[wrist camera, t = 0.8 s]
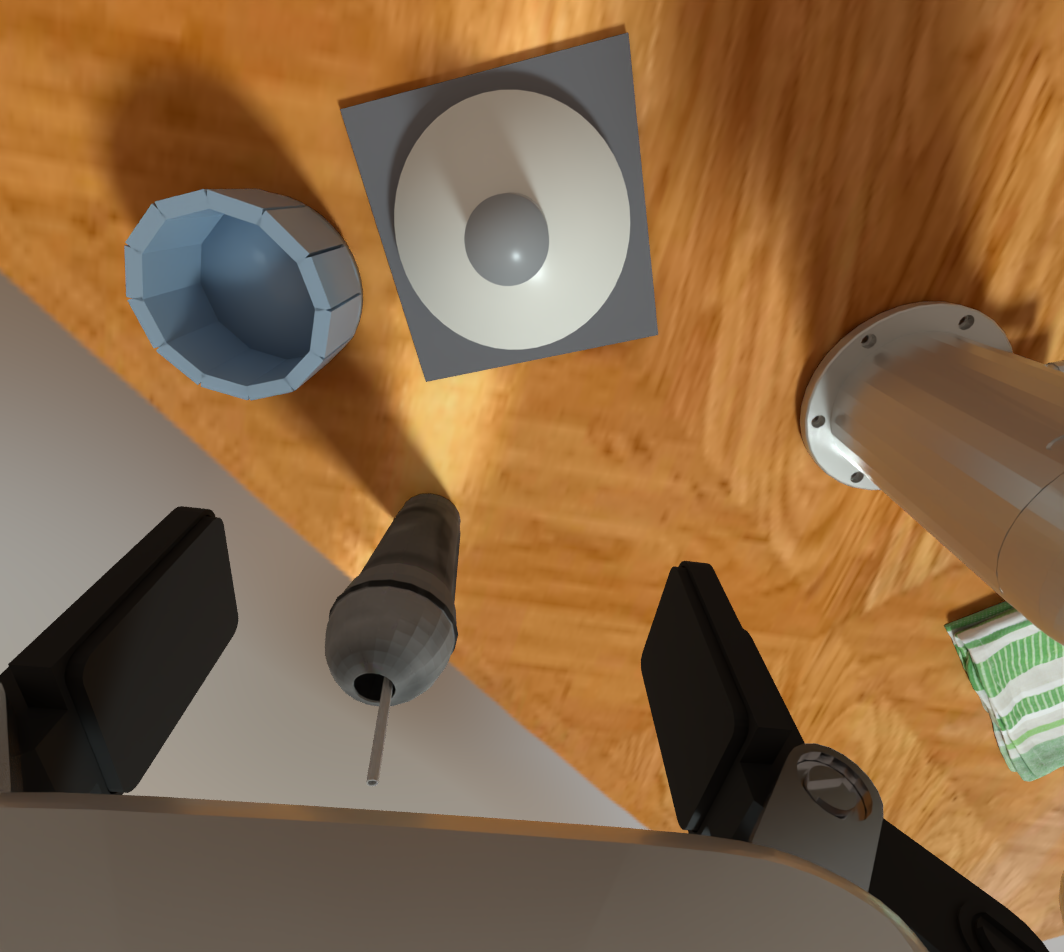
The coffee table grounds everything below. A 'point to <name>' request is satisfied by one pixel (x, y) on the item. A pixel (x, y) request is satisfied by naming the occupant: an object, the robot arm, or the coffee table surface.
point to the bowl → (242, 289)
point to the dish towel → (1016, 685)
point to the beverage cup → (398, 614)
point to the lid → (512, 219)
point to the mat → (586, 87)
